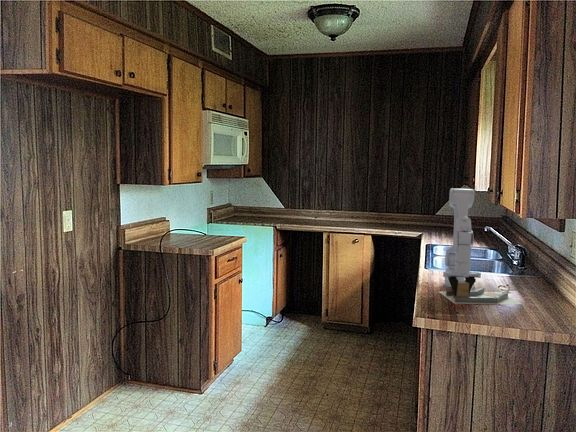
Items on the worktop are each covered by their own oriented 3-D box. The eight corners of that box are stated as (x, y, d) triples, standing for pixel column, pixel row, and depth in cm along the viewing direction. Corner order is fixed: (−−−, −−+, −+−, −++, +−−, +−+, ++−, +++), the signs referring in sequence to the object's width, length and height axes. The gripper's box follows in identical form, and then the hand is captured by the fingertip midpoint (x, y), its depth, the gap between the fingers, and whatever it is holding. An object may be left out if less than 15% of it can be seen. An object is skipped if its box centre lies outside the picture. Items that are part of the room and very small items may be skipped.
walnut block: (452, 297, 202) (453, 280, 201) (463, 297, 202) (464, 280, 201) (456, 300, 197) (458, 283, 197) (468, 300, 198) (469, 283, 197)
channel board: (438, 292, 211) (438, 291, 211) (500, 293, 212) (501, 291, 212) (454, 304, 193) (454, 303, 193) (522, 305, 194) (522, 303, 194)
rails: (441, 291, 210) (441, 287, 210) (499, 292, 211) (499, 287, 211) (455, 302, 194) (456, 297, 194) (518, 303, 195) (518, 298, 195)
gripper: (448, 263, 194) (446, 297, 195) (485, 263, 194) (482, 298, 196) (442, 259, 201) (440, 292, 202) (477, 260, 201) (475, 293, 203)
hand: (460, 295), depth 200 cm, fingers closed on walnut block, 4 cm apart
